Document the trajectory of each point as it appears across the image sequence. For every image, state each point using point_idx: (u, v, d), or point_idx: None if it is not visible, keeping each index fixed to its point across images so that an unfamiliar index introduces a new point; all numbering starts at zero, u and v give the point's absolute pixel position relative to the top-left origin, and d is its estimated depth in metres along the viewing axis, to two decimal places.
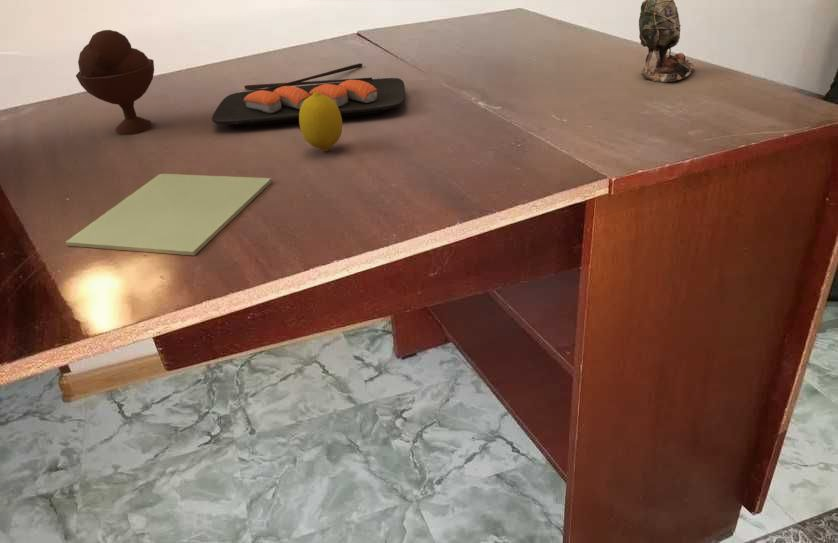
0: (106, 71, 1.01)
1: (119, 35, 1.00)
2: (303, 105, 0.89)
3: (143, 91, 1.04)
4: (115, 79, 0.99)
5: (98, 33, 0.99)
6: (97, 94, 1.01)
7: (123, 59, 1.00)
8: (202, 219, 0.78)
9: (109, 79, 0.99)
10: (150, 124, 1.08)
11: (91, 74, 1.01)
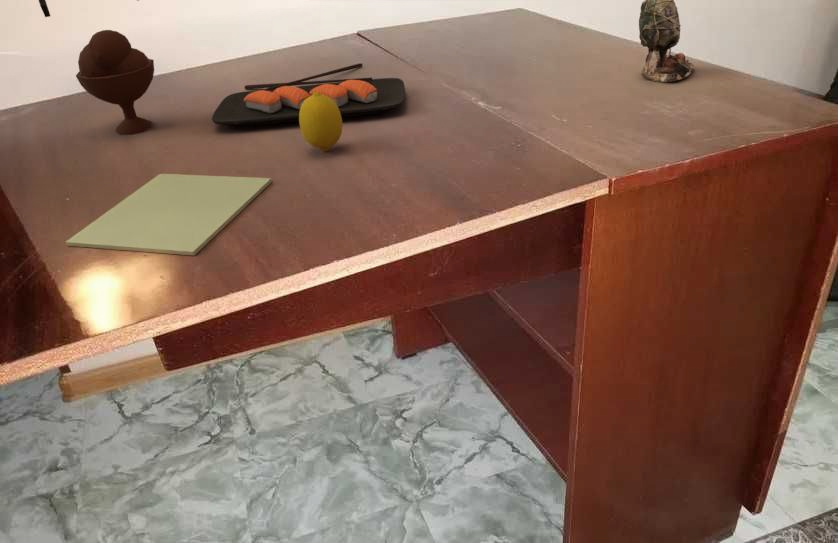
0: (106, 71, 1.01)
1: (119, 35, 1.00)
2: (303, 105, 0.89)
3: (143, 91, 1.04)
4: (115, 79, 0.99)
5: (98, 33, 0.99)
6: (97, 94, 1.01)
7: (123, 59, 1.00)
8: (202, 219, 0.78)
9: (109, 79, 0.99)
10: (150, 124, 1.08)
11: (91, 74, 1.01)
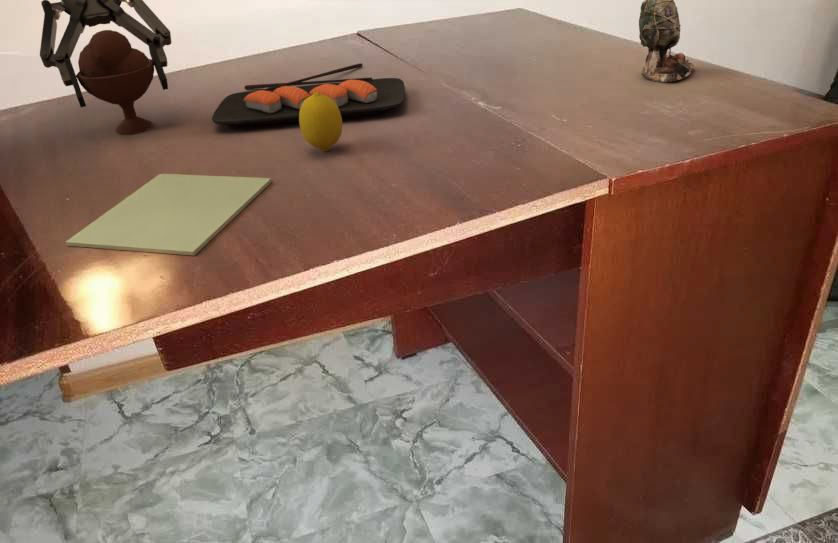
0: (106, 71, 1.01)
1: (119, 35, 1.00)
2: (303, 105, 0.89)
3: (143, 91, 1.04)
4: (115, 79, 0.99)
5: (98, 33, 0.99)
6: (97, 94, 1.01)
7: (123, 59, 1.00)
8: (202, 219, 0.78)
9: (109, 79, 0.99)
10: (150, 124, 1.08)
11: (91, 74, 1.01)
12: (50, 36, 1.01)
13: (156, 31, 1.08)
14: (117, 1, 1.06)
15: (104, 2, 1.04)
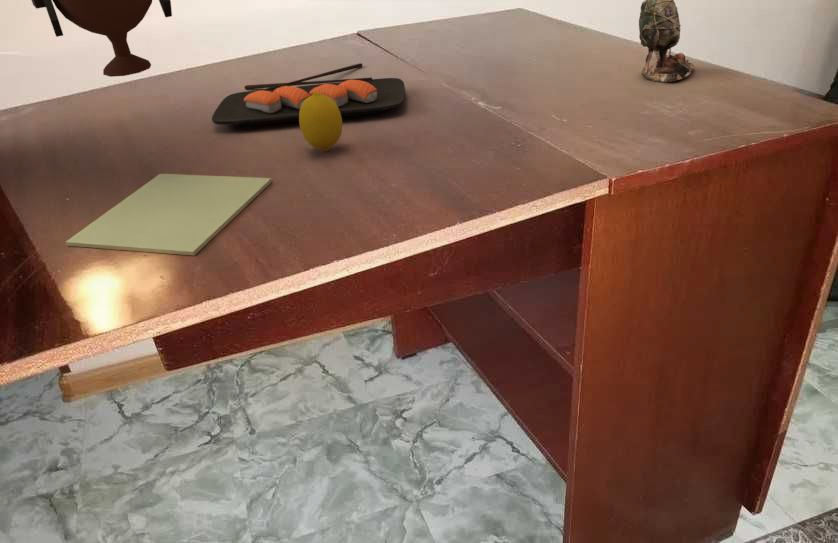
0: None
1: None
2: (303, 105, 0.89)
3: (139, 17, 0.79)
4: None
5: None
6: (78, 18, 0.76)
7: None
8: (202, 219, 0.78)
9: None
10: (148, 64, 0.83)
11: None
12: None
13: None
14: None
15: None
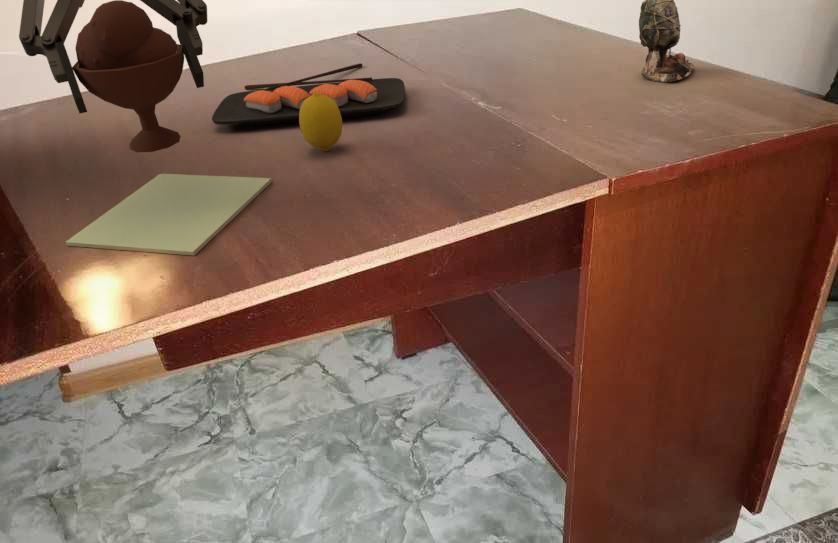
0: (116, 61, 0.69)
1: (136, 8, 0.68)
2: (303, 105, 0.89)
3: (169, 90, 0.72)
4: (130, 73, 0.68)
5: (105, 5, 0.67)
6: (103, 95, 0.69)
7: (141, 43, 0.68)
8: (202, 219, 0.78)
9: (121, 72, 0.67)
10: (178, 137, 0.77)
11: (95, 65, 0.69)
12: (35, 10, 0.70)
13: (186, 5, 0.76)
14: None
15: None
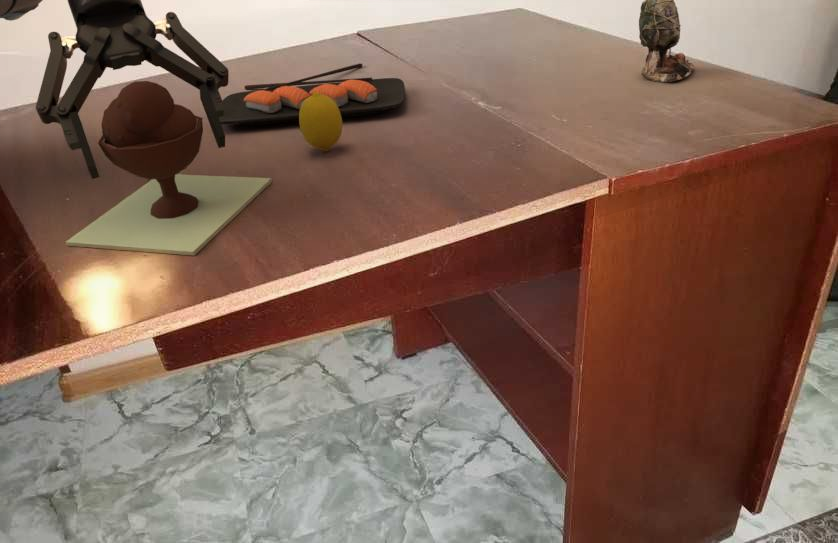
0: (140, 137, 0.73)
1: (159, 88, 0.72)
2: (303, 105, 0.89)
3: (189, 162, 0.77)
4: (153, 150, 0.72)
5: (130, 86, 0.71)
6: (128, 169, 0.73)
7: (163, 121, 0.73)
8: (202, 219, 0.78)
9: (145, 150, 0.71)
10: (196, 202, 0.81)
11: (120, 142, 0.73)
12: (54, 82, 0.74)
13: (207, 69, 0.80)
14: (152, 34, 0.78)
15: (135, 36, 0.77)
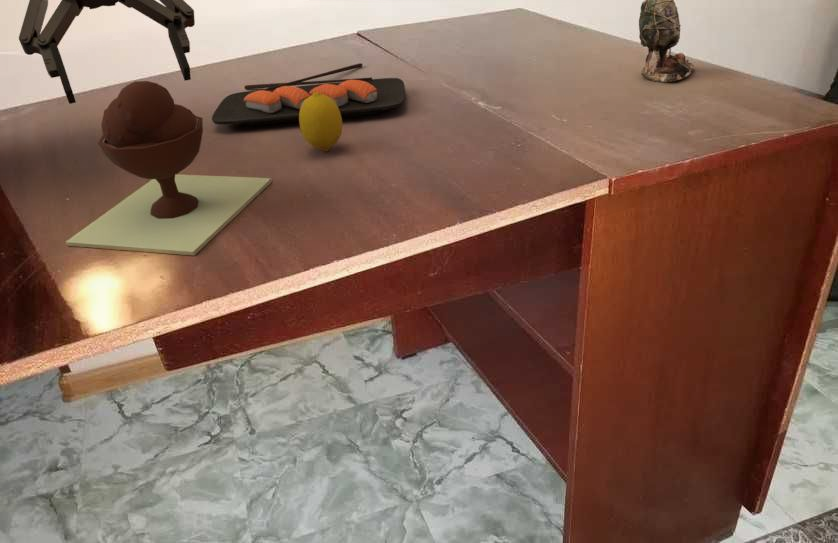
0: (140, 137, 0.73)
1: (159, 88, 0.72)
2: (303, 105, 0.89)
3: (189, 162, 0.77)
4: (153, 150, 0.72)
5: (130, 86, 0.71)
6: (128, 169, 0.73)
7: (163, 121, 0.73)
8: (202, 219, 0.78)
9: (145, 150, 0.71)
10: (196, 202, 0.81)
11: (120, 142, 0.73)
12: (35, 17, 0.82)
13: (175, 11, 0.89)
14: None
15: None
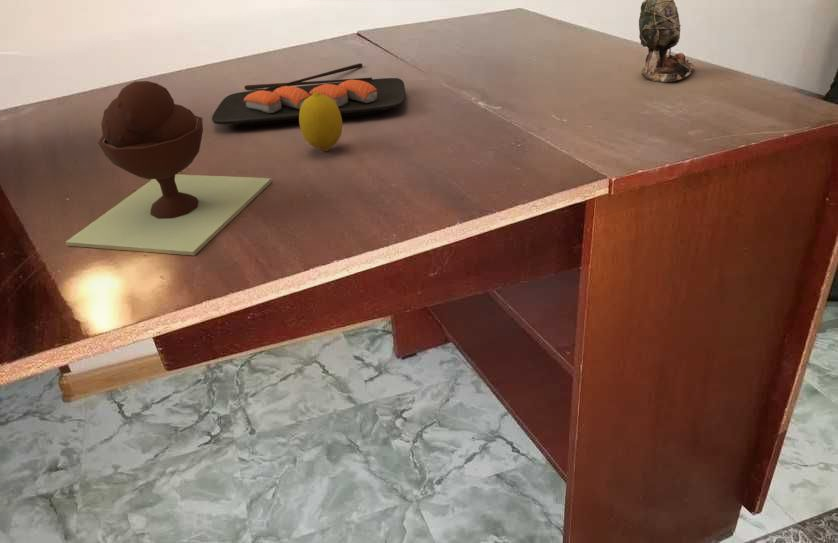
0: (140, 137, 0.73)
1: (159, 88, 0.72)
2: (303, 105, 0.89)
3: (189, 162, 0.77)
4: (153, 150, 0.72)
5: (130, 86, 0.71)
6: (128, 169, 0.73)
7: (163, 121, 0.73)
8: (202, 219, 0.78)
9: (145, 150, 0.71)
10: (196, 202, 0.81)
11: (120, 142, 0.73)
12: None
13: None
14: None
15: None
